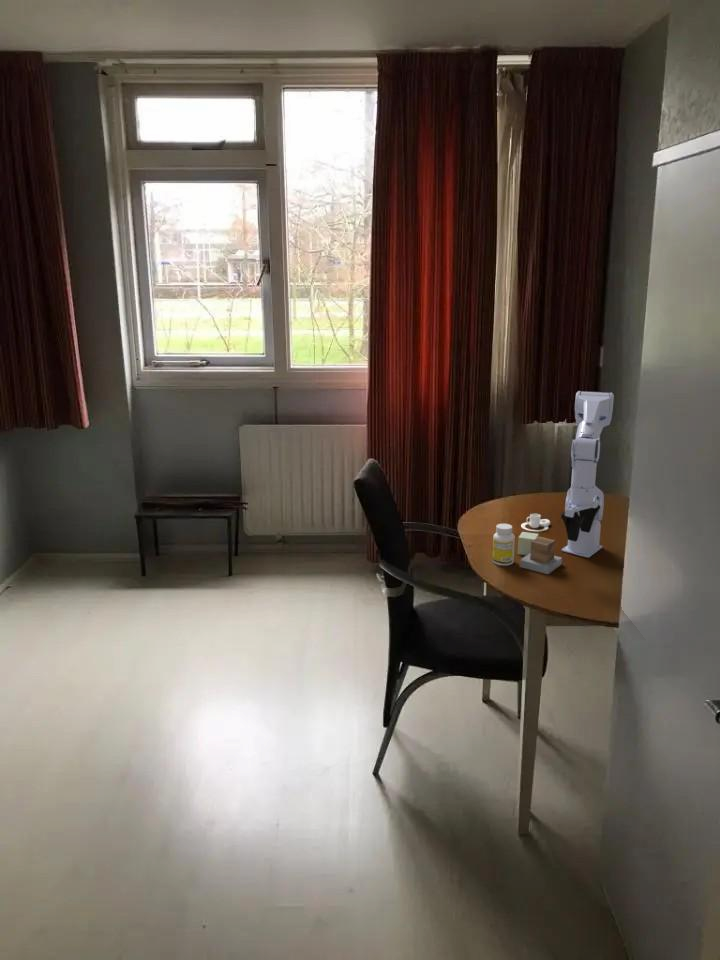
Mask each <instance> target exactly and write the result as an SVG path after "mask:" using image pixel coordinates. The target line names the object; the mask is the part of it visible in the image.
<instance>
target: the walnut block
mask: <svg viewBox="0 0 720 960" xmlns="http://www.w3.org/2000/svg"><path fill="white" fill-rule="evenodd" d="M555 546H556V540H555V539H551V538H547V537H543V536H538V538H536V539H535V540H533V541H531V555H530V559H531V560H535V561H539V562H542V563H547V562H549V561H550V560H552V559H553V558H554V556H555Z"/></svg>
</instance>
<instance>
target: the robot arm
mask: <svg viewBox="0 0 720 960" xmlns="http://www.w3.org/2000/svg"><path fill="white" fill-rule="evenodd" d="M574 399H575V401H574V419H575V423H577V424H578V425H577V428H576V433H575V439H572V442H571V449H570V451H571V453H570V456H571V468H572V469H571V481H570V484H571V485H570V488H568V490H567V494H566V498H565V505H564V511H562V512H561V514H560V518H561V519H562V520H563V524H564V526H565V530H566V536H567V545H566V546H564V547H563V548H561V552H563V553H568V554H573V555H576V556H579V557H584V558H588V559H589V558H590V557H592V556H593V555H594V554H596V553H597V552H598V551H600V550H601V549H602V548H603V545H600V539H601V530H602V529H601V528H602V526H601V522H600V521H601V520H603V514H604V507H605V506H604V504H605V500H604V497H605V495H604V492H603V491H602V490H601V489H600V488H599V487H597V485H596V477H597V475H596V474H597V465H598V462H599V459H600V452H601V441H600V440H601V439H600V438H601V434H602V432H603V428H605V427H607V426H609V425H611V421H612V417H613V415H612V414H613V410H614V409H613V408H614V400H615V395H614V393H613V392H600V391H581V390H578V391H577V392H576V393H575V398H574Z"/></svg>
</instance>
